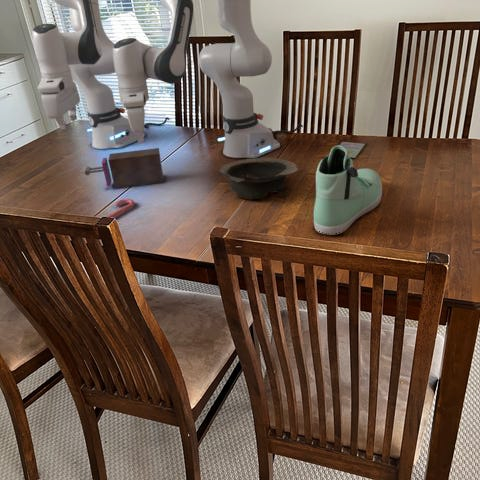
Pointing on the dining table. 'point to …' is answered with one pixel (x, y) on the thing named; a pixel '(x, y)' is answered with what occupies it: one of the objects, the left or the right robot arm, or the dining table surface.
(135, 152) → the cabinet
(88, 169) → the drawer
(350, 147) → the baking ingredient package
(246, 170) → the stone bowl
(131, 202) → the candy cane
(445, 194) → the dining table surface
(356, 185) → the sneaker
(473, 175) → the dining table surface
